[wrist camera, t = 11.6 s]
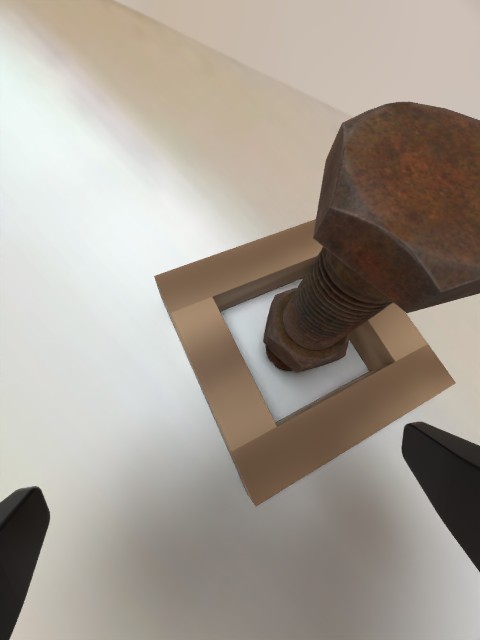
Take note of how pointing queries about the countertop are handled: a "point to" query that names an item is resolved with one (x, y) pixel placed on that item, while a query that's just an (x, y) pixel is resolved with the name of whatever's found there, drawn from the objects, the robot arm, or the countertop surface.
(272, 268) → the block
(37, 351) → the countertop surface
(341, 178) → the bolt
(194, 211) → the countertop surface
